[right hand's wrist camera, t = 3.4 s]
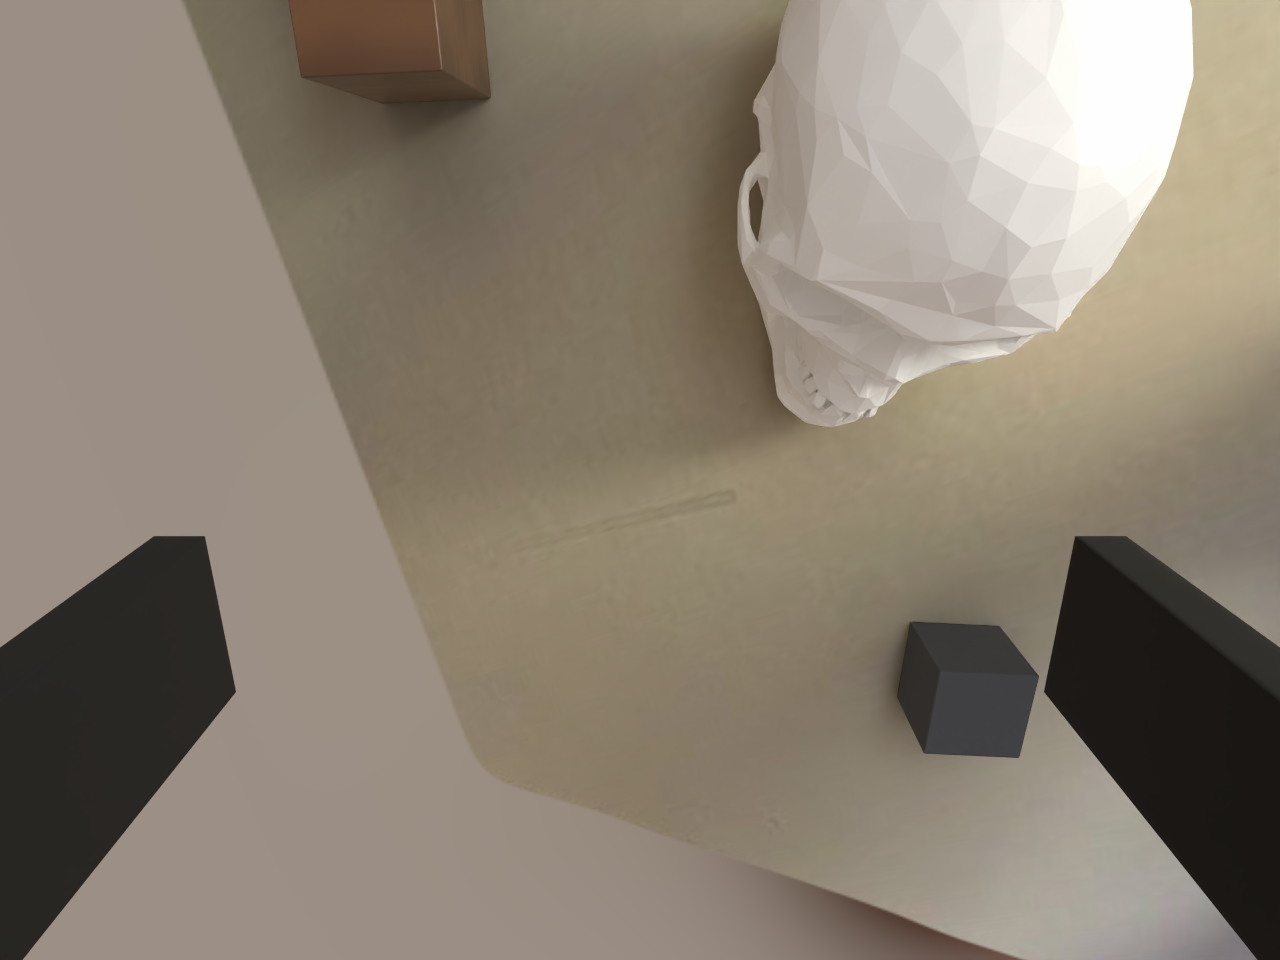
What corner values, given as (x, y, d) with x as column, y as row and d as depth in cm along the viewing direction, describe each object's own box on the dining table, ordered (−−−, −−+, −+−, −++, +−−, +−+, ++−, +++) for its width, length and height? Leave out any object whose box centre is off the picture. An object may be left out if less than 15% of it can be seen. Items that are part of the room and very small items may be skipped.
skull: (693, 403, 41) (732, 527, 26) (773, -108, 34) (892, -341, 19) (947, 434, 42) (1127, 572, 27) (1080, -57, 34) (1428, -242, 20)
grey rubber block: (910, 621, 45) (940, 671, 41) (999, 625, 45) (1039, 676, 41) (896, 697, 47) (923, 753, 42) (982, 701, 47) (1019, 758, 42)
